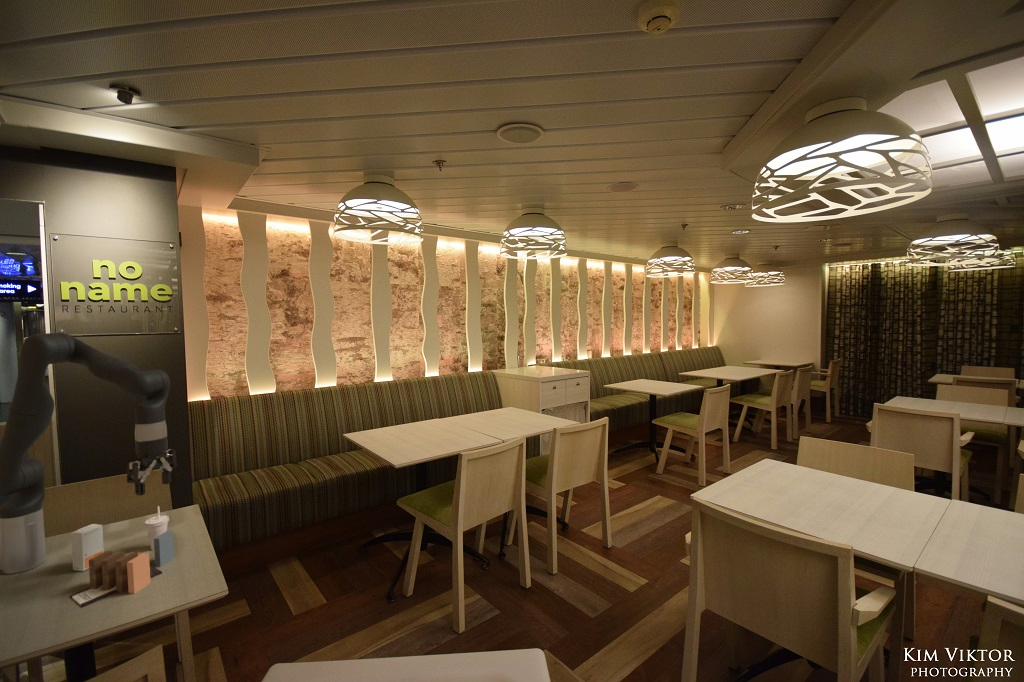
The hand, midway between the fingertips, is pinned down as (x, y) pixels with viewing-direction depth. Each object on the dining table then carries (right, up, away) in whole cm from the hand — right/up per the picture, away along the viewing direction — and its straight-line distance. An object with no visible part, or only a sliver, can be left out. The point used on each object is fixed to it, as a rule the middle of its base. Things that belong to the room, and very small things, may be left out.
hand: (153, 489), depth 135 cm
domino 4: (-1, -25, +6) cm, 26 cm away
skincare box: (-24, -26, +4) cm, 35 cm away
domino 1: (-10, -26, -6) cm, 28 cm away
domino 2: (-6, -26, -6) cm, 27 cm away
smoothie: (-10, -25, +15) cm, 31 cm away
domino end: (+2, -26, -7) cm, 27 cm away
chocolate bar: (-6, -27, -6) cm, 28 cm away
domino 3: (-2, -26, -7) cm, 27 cm away
